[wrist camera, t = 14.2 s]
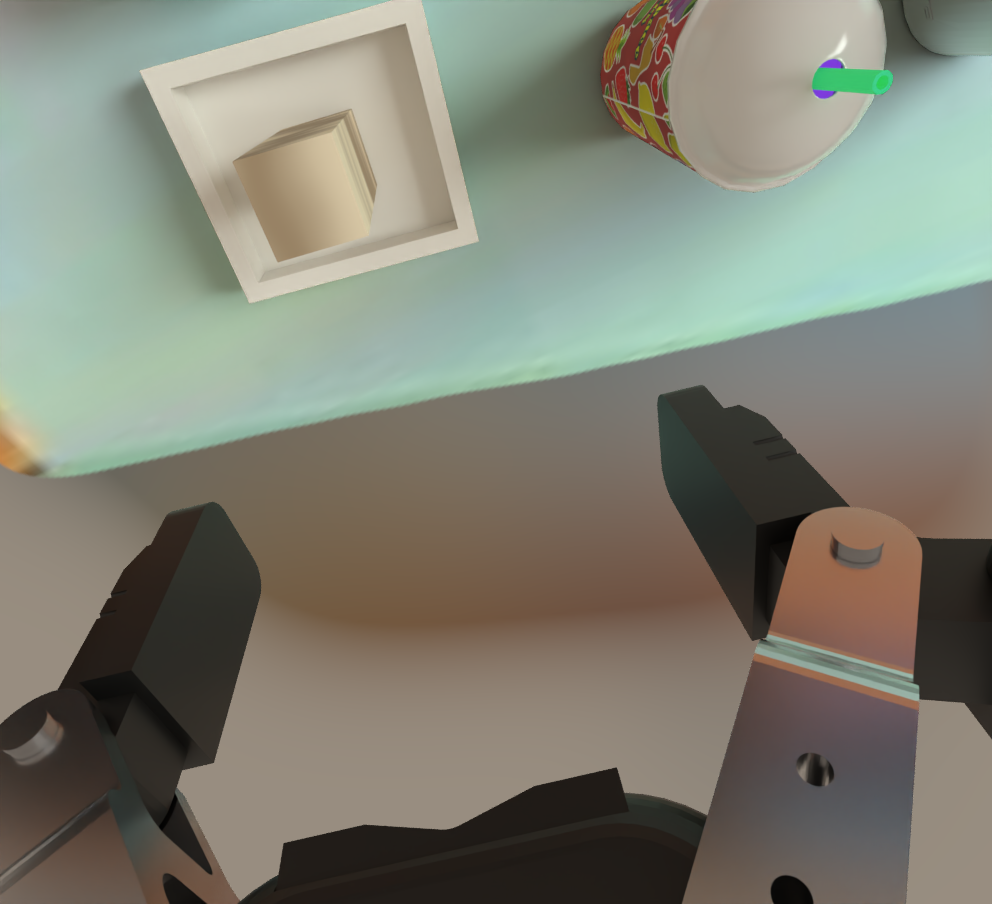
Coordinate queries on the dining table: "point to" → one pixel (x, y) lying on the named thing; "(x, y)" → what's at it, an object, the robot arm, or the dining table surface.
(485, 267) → the dining table surface
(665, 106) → the smoothie
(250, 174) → the birch peg
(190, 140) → the plastic tray
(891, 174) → the dining table surface
